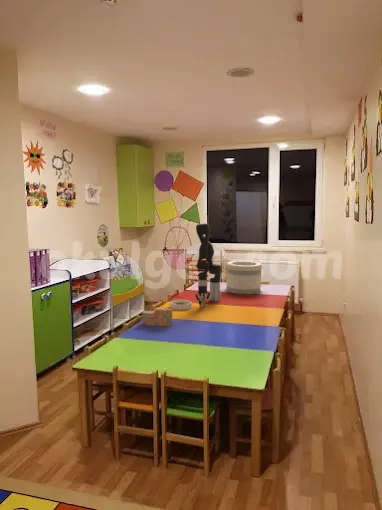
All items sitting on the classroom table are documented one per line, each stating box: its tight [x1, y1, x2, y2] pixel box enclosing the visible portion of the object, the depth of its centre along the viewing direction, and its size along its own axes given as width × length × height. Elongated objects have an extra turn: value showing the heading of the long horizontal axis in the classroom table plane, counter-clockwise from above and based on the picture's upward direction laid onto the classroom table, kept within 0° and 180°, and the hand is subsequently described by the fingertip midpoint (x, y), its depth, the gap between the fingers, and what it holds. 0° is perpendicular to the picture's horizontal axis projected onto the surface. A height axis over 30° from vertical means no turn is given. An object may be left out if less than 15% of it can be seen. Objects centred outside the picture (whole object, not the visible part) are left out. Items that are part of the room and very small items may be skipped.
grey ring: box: [169, 299, 193, 311], centre depth 357 cm, size 18×18×4 cm
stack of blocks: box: [141, 306, 173, 327], centre depth 309 cm, size 21×6×12 cm, turn 85°
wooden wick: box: [199, 297, 207, 308], centre depth 356 cm, size 4×4×7 cm
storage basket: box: [225, 260, 263, 295], centre depth 423 cm, size 35×35×27 cm
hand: (202, 304), depth 356 cm, fingers closed on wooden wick, 4 cm apart
